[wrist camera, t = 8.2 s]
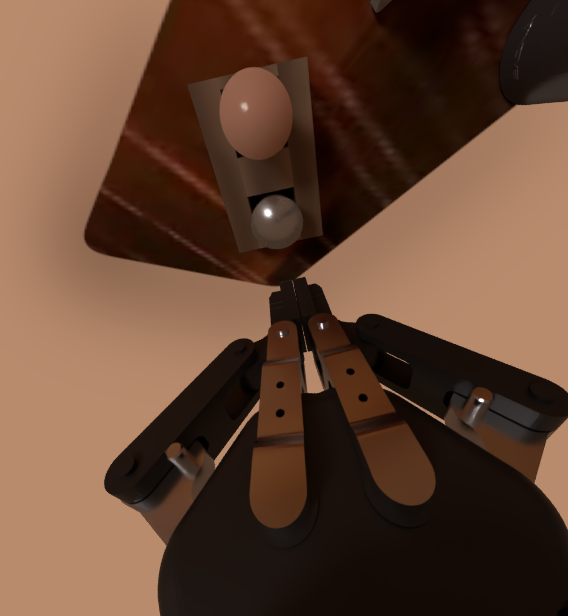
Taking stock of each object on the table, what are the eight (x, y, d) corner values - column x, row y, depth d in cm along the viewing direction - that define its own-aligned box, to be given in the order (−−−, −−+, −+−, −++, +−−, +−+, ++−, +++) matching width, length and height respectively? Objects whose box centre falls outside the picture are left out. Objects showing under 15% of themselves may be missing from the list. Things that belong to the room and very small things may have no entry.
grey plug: (289, 178, 29) (299, 191, 23) (296, 221, 32) (306, 243, 26) (247, 187, 29) (245, 202, 23) (257, 230, 32) (258, 253, 26)
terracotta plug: (277, 78, 22) (285, 59, 16) (287, 146, 25) (297, 151, 19) (221, 91, 22) (208, 77, 16) (237, 157, 25) (232, 166, 19)
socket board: (298, 69, 24) (307, 56, 20) (314, 222, 33) (322, 235, 29) (198, 92, 24) (187, 84, 20) (241, 237, 33) (239, 252, 29)
